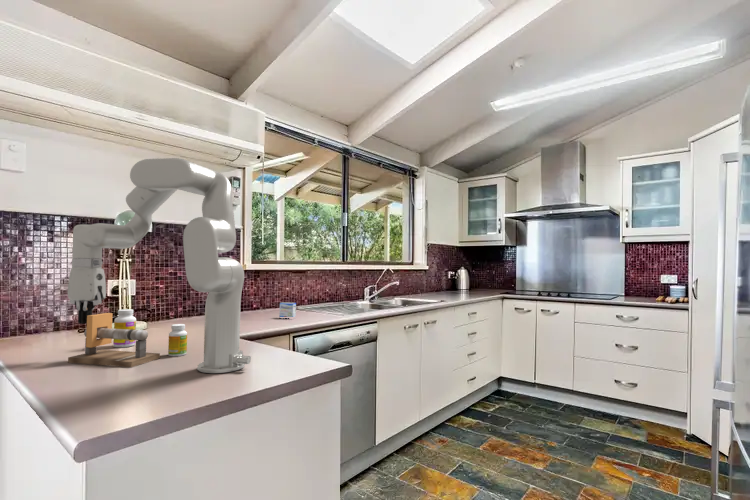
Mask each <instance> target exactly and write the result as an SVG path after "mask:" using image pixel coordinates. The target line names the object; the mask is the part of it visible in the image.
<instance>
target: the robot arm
mask: <svg viewBox="0 0 750 500" xmlns="http://www.w3.org/2000/svg"><path fill="white" fill-rule="evenodd" d="M129 179H130V181H131V183H132V184H133V186H135V187H134V188H133V189H132V190H131V191H130V192H129V193H128V194H127V195H126V197H125V202H126V204H127V206H128V207H129V209H130V210H131V211H132V212H134V215H133V217H131V219H130V220H129V221H128V222H127V223H126V224H124V225H121V224H113V223H103V222H101V223H100V222H99V223H98V222H97V223H93V224H77V225H75V226H73V232H72V253H71V254H72V257H71V259H72V260H71V269H70V272H69V277H68V284H67V298H68V299H69V303H70V304H71V305H74V306H75V307H76V310H77V313H78V316H77V317H78V318H77V319H78V320H77V324H81V325H84V324H86V325H87V316H89V315H93V311H94V309H95V307H96V306H98V305H101V304H102V302H103V300H105V299H106V298H107V286H106V285H107V284H106V283H107V282H106V275H105V270H104V268H102V267H103V263H104V261H103V249H121V250H123V249H124V250H125V249H129V248H132V247H133V246H135V245H136V244H137V243H139V242H140V241H141V240H142V239H144V237H145V236H146V235H147V233H148V232H149V230H150V228H151V225H152V220H153V219H152V218H153V217H152V216H153V214H154V213H155V212H156V211H157V210H158V209H159V208H160V207H161V206H162V205H163V204H164V203H165V202H166V201H167V200H168V199H170V198H171V196H173V194H175V192H177V191H178V190H179V191H184V192H187V193H190V194H194V195H201V196H203V199H202V203H201V213H202V216H198V217H195V218H193V219H192V220H190V221H189V222H188V223H187V224H186V225H185V228H184V229H183V236H182V241H183V242H182V245H183V246H182V247H183V256H184V267H185V275H186V279H187V282H188V285H189V286H190V287H191V288H192V289H193V290H195V291H197V292H199V293H208V294H207V296H206V301H205V304H204V305H205V307H204V333H203V336H204V338H203V340H204V341H203V361H202V362H200V363H198V364H197V371H199V372H201V373H205V374H206V373H207V374H224V373H231V372H235V371H239V370H242V369H243V368H244V367H245V366H246V365H250V364H251V359H252V358H251V357H252V356H251V355H244V350H241V349H240V342H241V341H240V337H241V335H240V334H241V330H240V329H241V303H242V291H243V287H244V283H245V282H244V281H245V269H244V268H243V266H242V264H241V263H240V261H238V260H236V259H234V258H231V257H227V256H226V257H225V256H219V253H222V254H223V253H227V252H230V251H232V250H233V249H234V248H235V247H236V243H237V233H236V223H235V222H236V221H235V213H234V205H233V188H232V184H231V182H230V181H229V178H228V177H227V176H226V175H224V174H223V173H221V172H219V171H217V170H214V169H212V168H210V167H209V168H208V167H206V166H205V165H204V166H203V165H201V164H198V163H195V162H194V161H193V162H192V161H191V160H188V159H184V158H179V157H178V158H177V157H176V158H175V157H174V158H173V157H172V158H169V157H167V158H145V159H141V160H139V161H137V162H136V163H135V164H133V165H132V167H131V169H130V172H129Z"/></svg>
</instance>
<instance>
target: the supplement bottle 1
mask: <svg viewBox="0 0 750 500" xmlns="http://www.w3.org/2000/svg"><path fill="white" fill-rule="evenodd" d="M117 314H118V316H116V317H115V318H114V321H113V326H114V327H113V329H128V330H131V329H134V330H137V318H136V317H135V316H134V309H130V308H129V309H128V308H127V309H125V308H124V309H118V311H117ZM112 340H113V341H112V342H113V345H112V346H113V347H114V348H130V347H134V346H136V340H124V339H112Z"/></svg>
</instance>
